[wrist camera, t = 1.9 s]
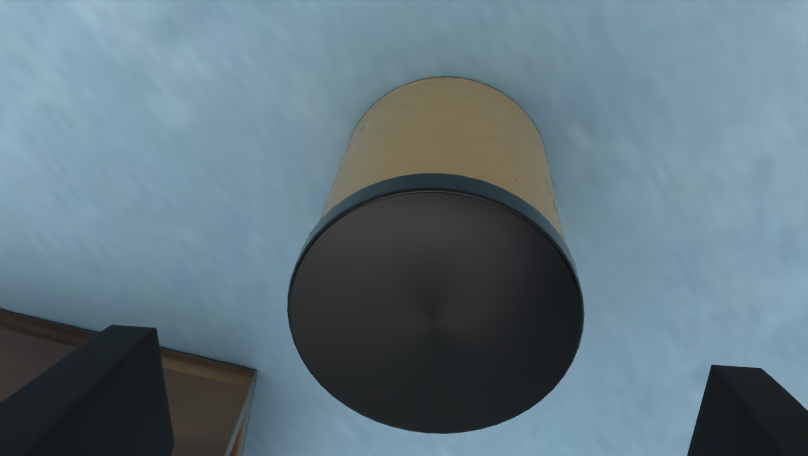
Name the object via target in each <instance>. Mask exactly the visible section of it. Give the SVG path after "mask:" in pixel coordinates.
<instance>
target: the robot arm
mask: <svg viewBox="0 0 808 456" xmlns="http://www.w3.org/2000/svg"><path fill="white" fill-rule="evenodd" d="M174 445H175V441H174V435H173V429H172V422H171V416H170V410H169V404H168V398H167V392H166V386H165V379H164V373H163V367H162V361H161V355H160V349H159V342H158V336H157V330H156V328H150V327H135V326H120V325H111V326H109V327H108V328H106V329H104V330H103V331H101V332H100V333H98V334H97V335H95V336H94V337H92V338H91V339H89V340H88V341H87V342H85V343H84V344H82V345H81V346H79V347H78V348H77V349H75V350H74V351H72V352H71V353H70V354H68V355H67V356H65V357H64V358H63V359H61V360H60V361H58V362H57V363H56V364H54V365H53V366H51V367H50V368H49V369H47V370H46V371H44V372H43V373H42V374H40V375H39V376H37V377H36V378H35V379H33V380H32V381H30V382H29V383H28V384H26V385H25V386H23V387H22V388H20V389H19V390H18V391H16V392H15V393H13V394H12V395H10V396H9V397H8V398H6V399H5V400H3V401H2V402H0V456H171V454H172V451H173V448H174ZM687 456H808V410H806V409H805V408H804V407H803V406H802V405H801V404H800V403H799V402H798V401H797V400H796V399H795V398H794V397H793V396H792V395H790V394H789V393H788V392H787V391H786V390H785V389H784V388H783V387H782V386H781V385H780V384H779V383H777V382H776V381H775V380H774V379H773V378H772V377H771V376H770V375H768V374H767V373H766V372H765V371H764V370H763V369H761V368H751V367H736V366H721V365H711V369H710V373H709V377H708V380H707V384H706V388H705V391H704V395H703V399H702V403H701V406H700V410H699V414H698V417H697V421H696V425H695V428H694V432H693V436H692V440H691V443H690V447H689V451H688V454H687Z"/></svg>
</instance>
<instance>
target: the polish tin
mask: <svg viewBox="0 0 808 456" xmlns="http://www.w3.org/2000/svg"><path fill="white" fill-rule="evenodd" d="M287 312H288V319H289V327H290V330H291V334H292V337H293V340H294V344H295V346H296V348H297V350H298V352H299V355H300V357H301V359H302V360H303V362H304V363H305V365H306V367H307V368H308V370H309V371H310V373H311V374H312V375H313V376H314V377H315V379H316V380H317V381H318V382H319V383H320V385H321V386H323V387H324V388H325V389H326V390H327V391H328V392H329V393H330V394H331V395H332V396H333V397H335V398H336V399H337V400H339V401H340V402H341V403H343V404H344V405H345V406H347V407H349V408H350V409H352V410H354V411H356V412H357V413H359V414H361V415H363V416H365V417H367V418H370V419H372V420H374V421H376V422H379V423H382V424H385V425H388V426H391V427H395V428H399V429H403V430H408V431H414V432H422V433H438V434H448V433H462V432H468V431H474V430H479V429H483V428H487V427H490V426H494V425H497V424H500V423H502V422H504V421H507V420H509V419H512V418H514V417H516V416H518V415H519V414H521V413H523V412H525V411H527V410H528V409H530V408H531V407H533V406H534V405H535V404H537V403H538V402H540V401H541V400H542V399H543V398H544V397H545V396H546V395H548V394H549V393H550V392H551V391H552V390H553V389H554V388H555V387H556V385H557V384H558V383H559V382H560V380H561V379H562V378H563V377H564V375H565V374H566V372H567V370H568V369H569V367H570V365H571V364H572V362H573V360H574V358H575V355H576V353H577V350H578V348H579V345H580V341H581V337H582V333H583V325H584V303H583V295H582V291H581V286H580V282H579V278H578V274H577V270H576V266H575V263H574V260H573V258H572V256H571V253H570V251H569V249H568V247H567V245H566V244H565V242H564V237H563V233H562V228H561V223H560V218H559V214H558V209H557V204H556V199H555V194H554V190H553V185H552V180H551V175H550V170H549V166H548V161H547V156H546V152H545V148H544V144H543V142H542V139H541V137H540V134H539V132H538V130H537V129H536V127H535V125H534V123H533V122H532V120H531V119H530V118H529V117H528V115H527V114H526V113H525V111H524V110H523V109H522V108H520V107H519V106H518V105H517V104H516V103H515V102H514V101H513V100H511V99H510V98H509V97H507V96H506V95H505V94H503V93H501V92H499V91H498V90H496V89H494V88H492V87H490V86H487V85H485V84H482V83H479V82H476V81H472V80H468V79H462V78H453V77H436V78H429V79H422V80H419V81H415V82H412V83H409V84H406V85H404V86H402V87H399V88H397V89H395V90H393V91H392V92H390V93H388V94H387V95H385V96H384V97H382V98H381V99H380V100H379V101H377V102H376V103H375V104H374V105H373V106H372V107H371V108H370V109H369V110H368V111H367V112H366V113H365V115H364V116H363V117H362V119H361V120H360V122H359V123H358V125H357V126H356V128H355V130H354V132H353V134H352V137H351V139H350V142H349V144H348V147H347V150H346V152H345V155H344V158H343V160H342V163H341V165H340V168H339V171H338V173H337V176H336V179H335V181H334V184H333V186H332V189H331V192H330V194H329V197H328V200H327V202H326V205H325V208H324V210H323V213H322V215H321V218H320V221H319V222H318V224H317V225H316V226H315V228H314V229H313V230H312V232H311V233H310V235H309V236H308V238H307V240H306V242H305V244H304V246H303V248H302V250H301V252H300V255H299V258H298V260H297V263H296V265H295V268H294V271H293V274H292V277H291V280H290V285H289V291H288V306H287Z"/></svg>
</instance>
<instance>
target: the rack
mask: <svg viewBox="0 0 808 456" xmlns="http://www.w3.org/2000/svg"><path fill="white" fill-rule="evenodd" d="M97 334H98V333H95V332H91V331H87V330H82V329H78V328H74V327H70V326H66V325H61V324H57V323H53V322H49V321H45V320H40V319H36V318H32V317H28V316H23V315H19V314H15V313H11V312H7V311H2V310H0V402H2V401H3V400H5V399H6V398H8V397H9V396H10V395H12V394H13V393H15V392H16V391H18V390H19V389H20V388H22V387H23V386H25V385H26V384H28V383H29V382H30V381H32V380H33V379H35V378H36V377H37V376H39V375H40V374H42V373H43V372H44V371H46V370H47V369H49V368H50V367H51V366H53V365H54V364H56V363H57V362H58V361H60V360H61V359H63V358H64V357H65V356H67V355H68V354H70V353H71V352H72V351H74V350H75V349H77V348H78V347H79V346H81V345H82V344H84V343H85V342H87V341H88V340H89V339H91V338H92V337H94V336H95V335H97ZM159 349H160V355H161V361H162V367H163V373H164V379H165V386H166V392H167V398H168V404H169V410H170V416H171V422H172V429H173V435H174V441H175V445H174V448H173V451H172V454H171V456H242V453H243V447H244V442H245V436H246V431H247V425H248V420H249V414H250V409H251V403H252V398H253V393H254V387H255V382H256V376H257V372H256V371H255V370H251V369H247V368H243V367H238V366H234V365H230V364H226V363H222V362H217V361H213V360H209V359H205V358H201V357H196V356H192V355H188V354H184V353H179V352H175V351H171V350H167V349H163V348H159Z"/></svg>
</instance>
